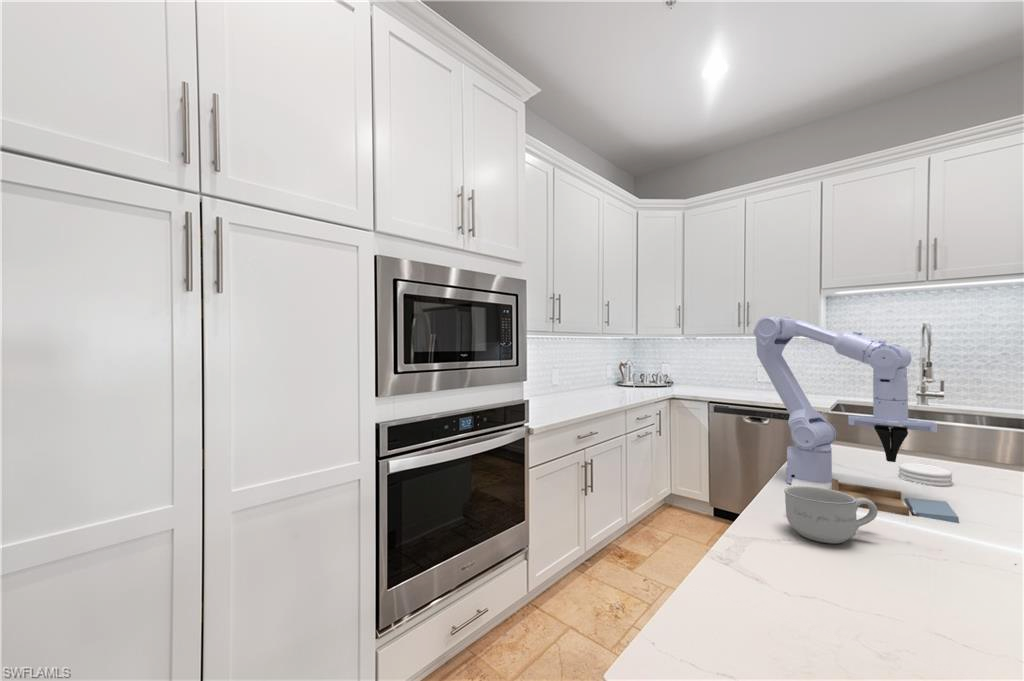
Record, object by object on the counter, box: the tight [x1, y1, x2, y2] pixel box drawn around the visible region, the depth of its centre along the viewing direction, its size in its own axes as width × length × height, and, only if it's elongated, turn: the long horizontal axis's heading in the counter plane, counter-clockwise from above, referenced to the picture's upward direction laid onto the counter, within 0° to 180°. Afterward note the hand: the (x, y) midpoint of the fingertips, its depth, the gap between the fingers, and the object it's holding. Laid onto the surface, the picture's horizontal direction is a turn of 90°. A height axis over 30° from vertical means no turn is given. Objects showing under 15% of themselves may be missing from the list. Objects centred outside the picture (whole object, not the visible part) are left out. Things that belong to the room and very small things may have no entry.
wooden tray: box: [831, 478, 910, 517], centre depth 91 cm, size 12×12×4 cm
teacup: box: [783, 485, 878, 544], centre depth 77 cm, size 14×11×8 cm
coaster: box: [898, 462, 953, 488], centre depth 110 cm, size 10×10×4 cm
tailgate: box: [903, 497, 960, 524], centre depth 85 cm, size 1×11×6 cm
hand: (890, 460), depth 93 cm, fingers closed
